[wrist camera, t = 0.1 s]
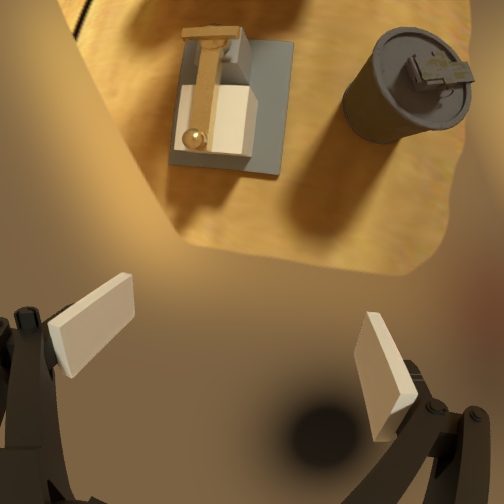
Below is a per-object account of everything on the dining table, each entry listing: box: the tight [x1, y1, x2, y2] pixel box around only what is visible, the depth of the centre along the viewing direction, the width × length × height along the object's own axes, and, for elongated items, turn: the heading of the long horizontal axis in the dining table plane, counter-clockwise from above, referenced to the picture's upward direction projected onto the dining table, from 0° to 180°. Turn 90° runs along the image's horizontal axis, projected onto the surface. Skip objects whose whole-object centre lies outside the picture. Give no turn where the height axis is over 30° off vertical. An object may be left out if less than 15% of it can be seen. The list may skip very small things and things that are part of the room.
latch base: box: [169, 27, 294, 175], centre depth 34 cm, size 20×16×10 cm
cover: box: [174, 85, 258, 157], centre depth 35 cm, size 8×8×8 cm
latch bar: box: [181, 24, 241, 151], centre depth 27 cm, size 15×6×4 cm, turn 174°
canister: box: [343, 27, 475, 144], centre depth 26 cm, size 11×10×20 cm
